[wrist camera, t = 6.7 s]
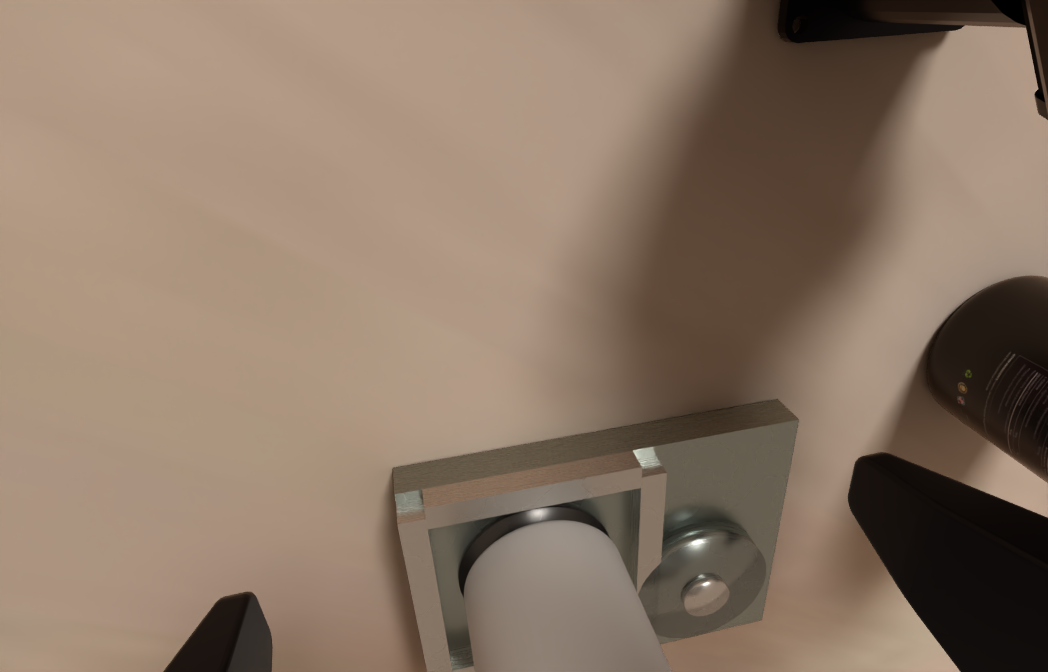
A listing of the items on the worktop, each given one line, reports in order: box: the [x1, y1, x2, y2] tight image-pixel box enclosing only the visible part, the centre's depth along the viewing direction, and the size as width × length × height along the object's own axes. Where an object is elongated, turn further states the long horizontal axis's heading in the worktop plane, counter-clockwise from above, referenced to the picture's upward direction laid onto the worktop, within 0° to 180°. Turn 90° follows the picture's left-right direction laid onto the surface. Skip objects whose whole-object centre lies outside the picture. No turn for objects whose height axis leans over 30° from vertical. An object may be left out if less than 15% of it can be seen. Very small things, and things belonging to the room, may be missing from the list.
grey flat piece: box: [393, 399, 799, 672], centre depth 27 cm, size 16×12×3 cm
